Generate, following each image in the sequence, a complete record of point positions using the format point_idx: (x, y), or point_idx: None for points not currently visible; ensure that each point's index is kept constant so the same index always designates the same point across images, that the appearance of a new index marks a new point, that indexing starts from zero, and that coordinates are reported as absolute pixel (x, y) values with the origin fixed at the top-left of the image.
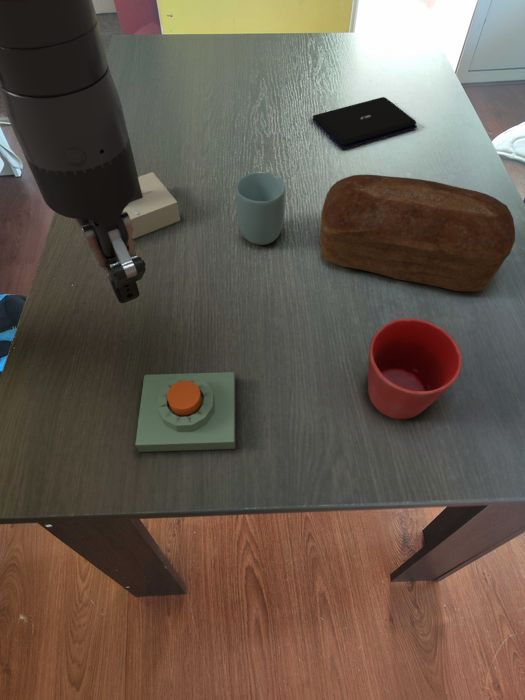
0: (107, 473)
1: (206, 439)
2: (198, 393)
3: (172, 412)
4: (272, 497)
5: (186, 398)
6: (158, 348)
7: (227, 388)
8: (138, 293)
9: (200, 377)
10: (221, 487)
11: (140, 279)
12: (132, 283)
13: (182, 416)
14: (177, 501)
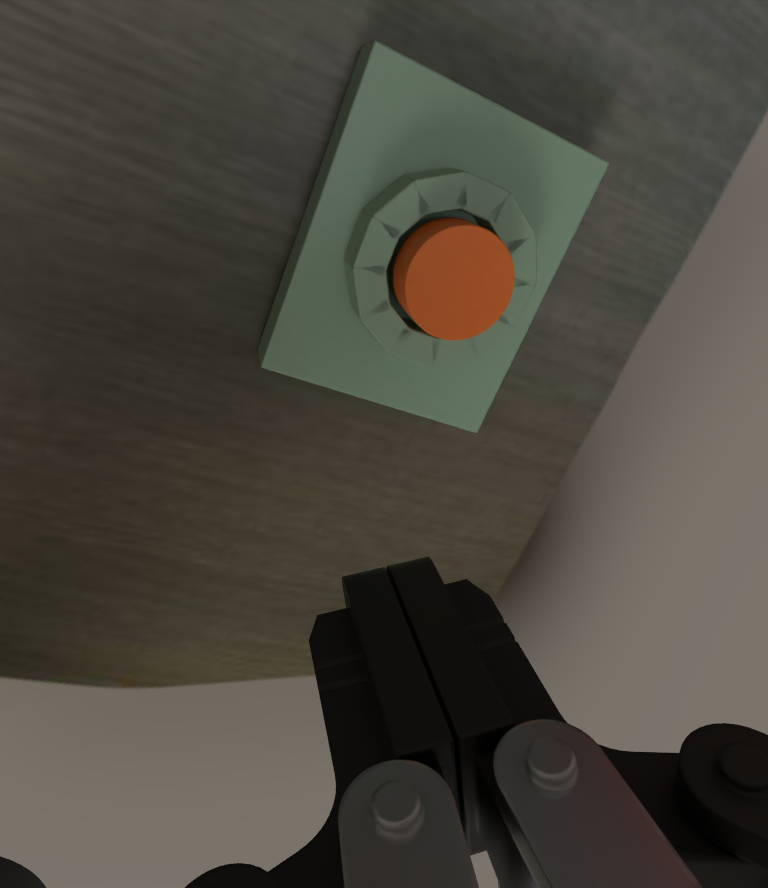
0: (475, 488)
1: (559, 243)
2: (480, 233)
3: None
4: (746, 114)
5: (479, 280)
6: (119, 281)
7: (431, 101)
8: (436, 569)
9: (345, 183)
10: (648, 239)
11: (761, 737)
12: (537, 684)
13: None
14: (616, 353)
